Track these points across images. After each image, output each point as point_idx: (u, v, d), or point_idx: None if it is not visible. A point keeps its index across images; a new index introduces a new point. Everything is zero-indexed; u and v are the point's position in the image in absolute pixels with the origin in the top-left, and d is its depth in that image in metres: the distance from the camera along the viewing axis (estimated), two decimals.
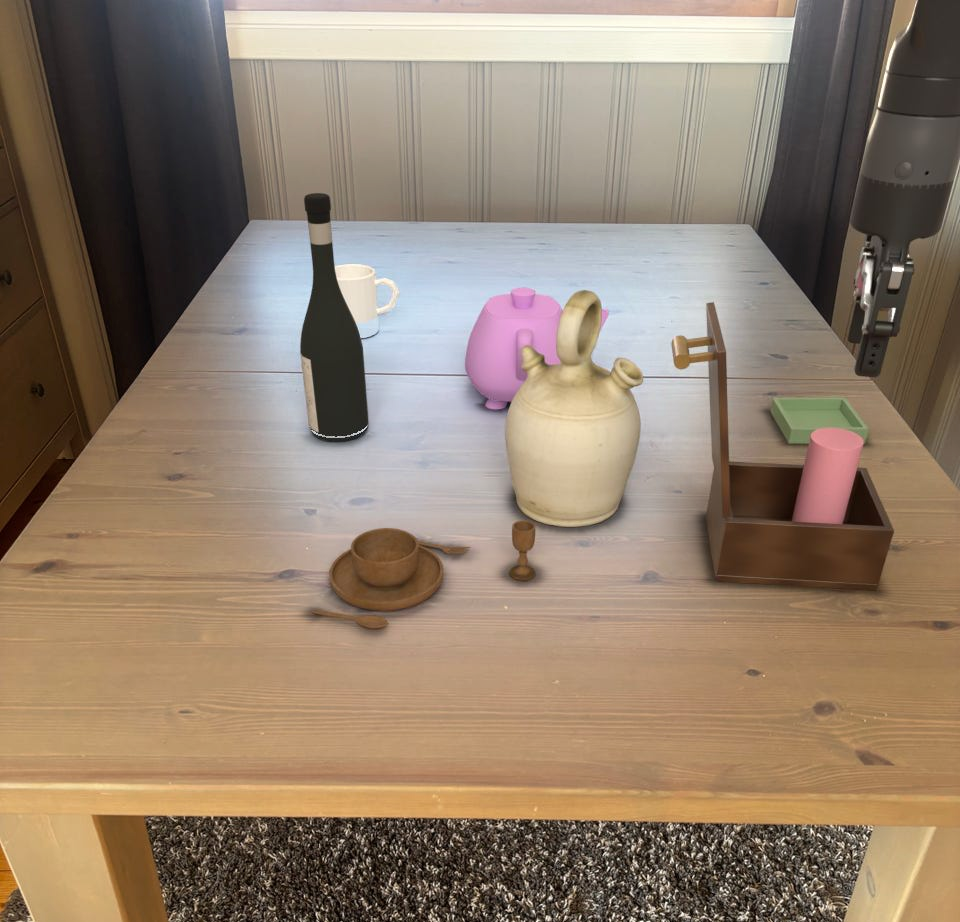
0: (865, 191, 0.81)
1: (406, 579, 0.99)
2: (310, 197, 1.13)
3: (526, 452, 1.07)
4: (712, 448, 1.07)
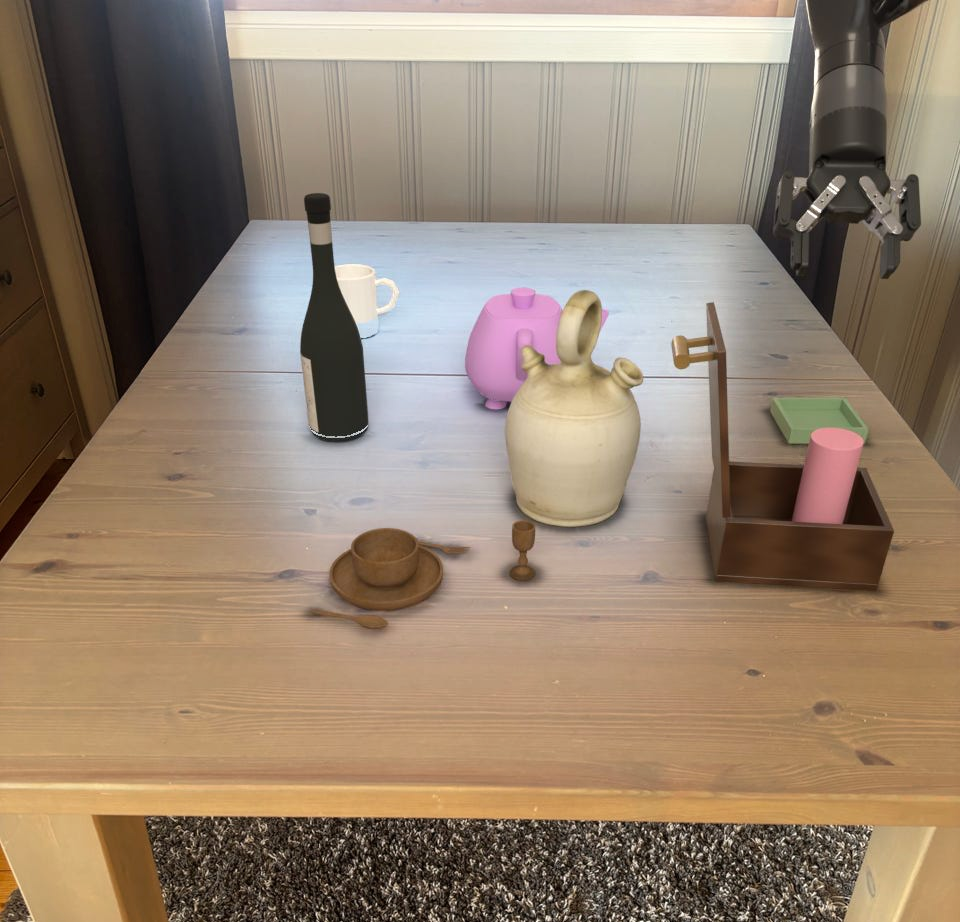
0: None
1: (406, 579, 0.99)
2: (310, 197, 1.13)
3: (526, 452, 1.07)
4: (712, 448, 1.07)
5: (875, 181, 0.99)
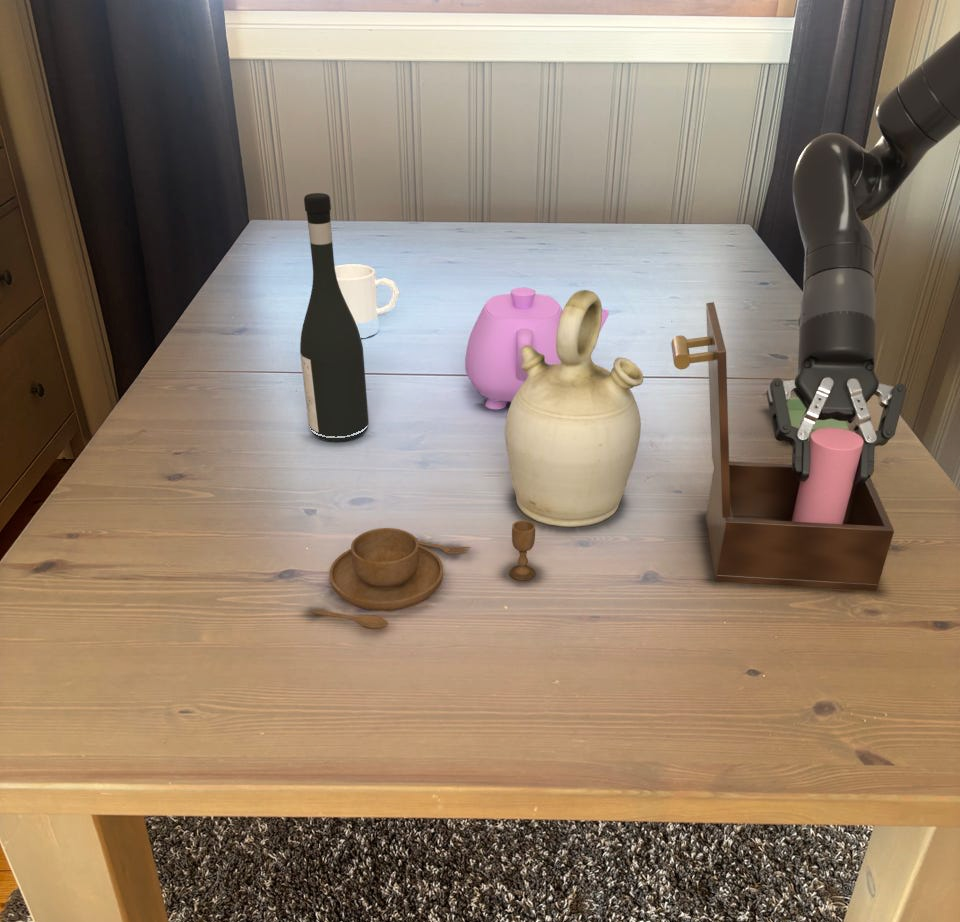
0: None
1: (406, 579, 0.99)
2: (310, 197, 1.13)
3: (526, 452, 1.07)
4: (712, 448, 1.07)
5: (863, 381, 1.00)
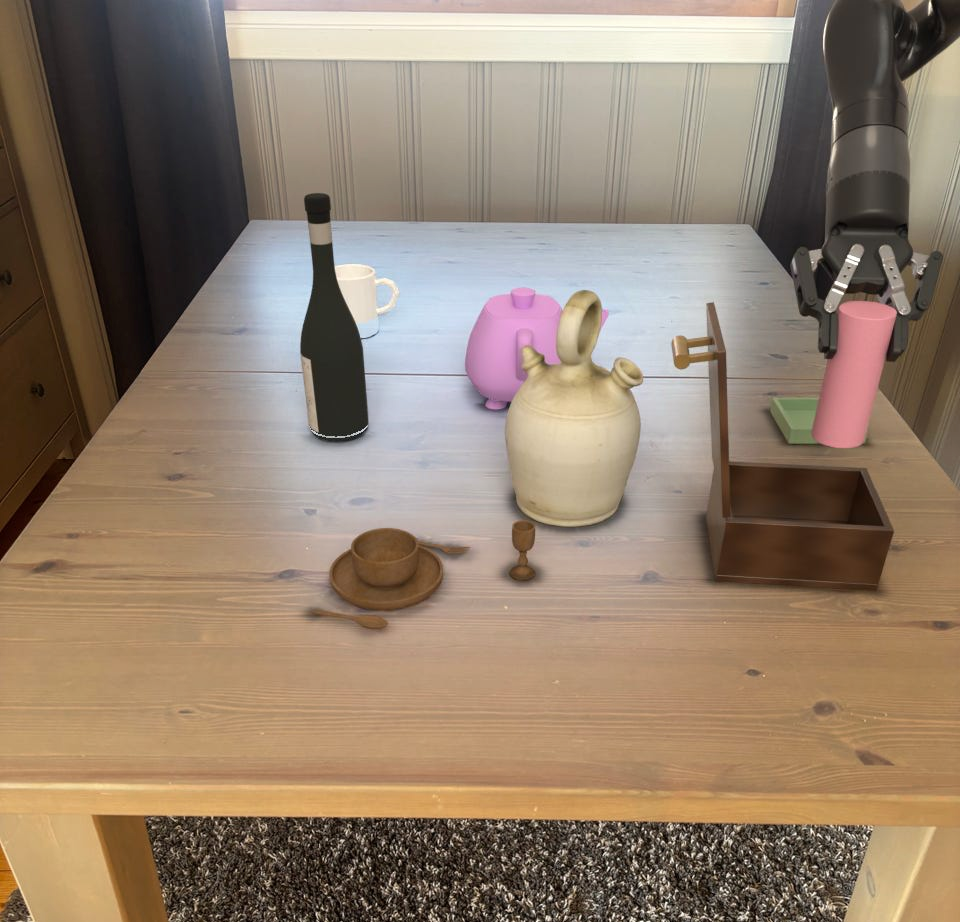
0: None
1: (406, 579, 0.99)
2: (310, 197, 1.13)
3: (526, 452, 1.07)
4: (712, 448, 1.07)
5: (896, 248, 0.92)
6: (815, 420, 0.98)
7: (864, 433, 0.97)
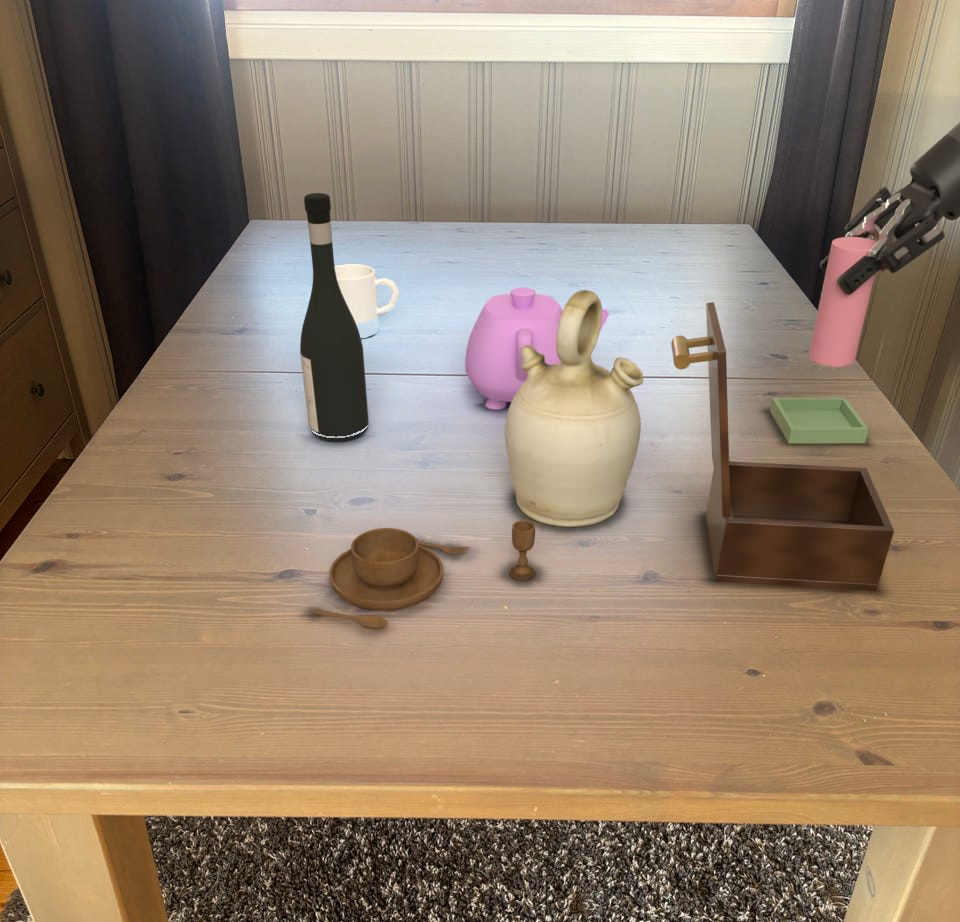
0: None
1: (406, 579, 0.99)
2: (310, 197, 1.13)
3: (526, 452, 1.07)
4: (712, 448, 1.07)
5: (920, 207, 1.02)
6: None
7: (827, 355, 1.12)
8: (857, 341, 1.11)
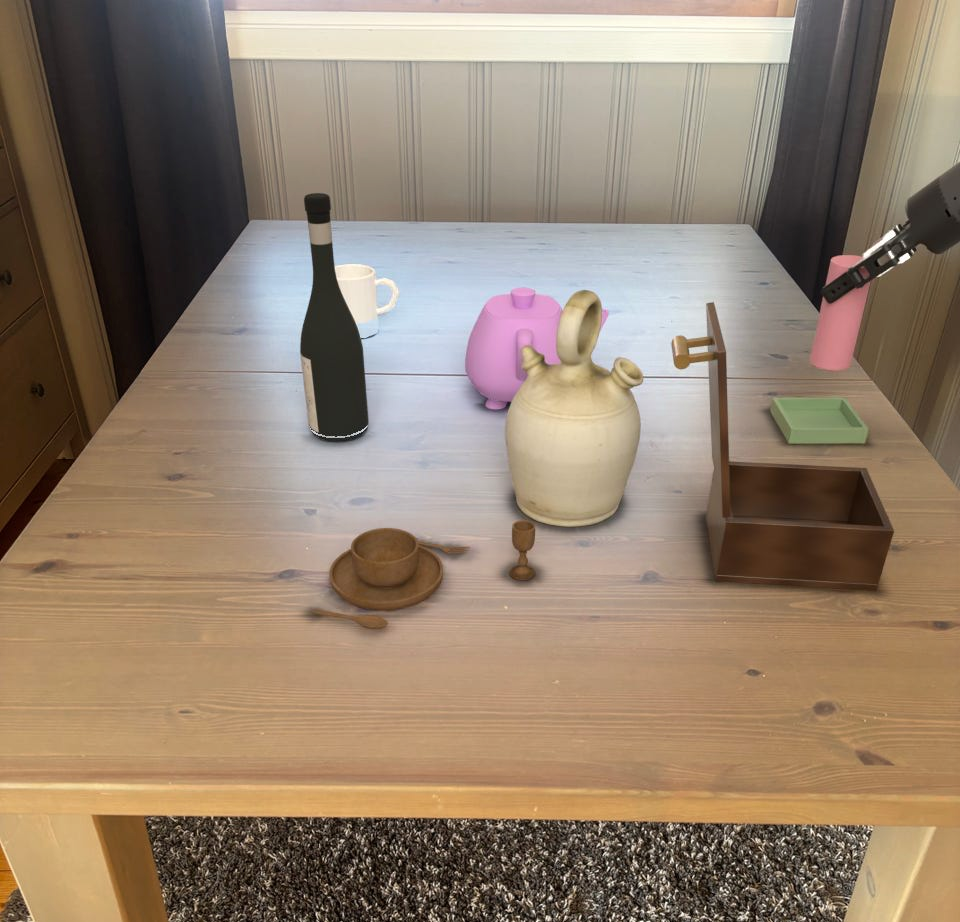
0: None
1: (406, 579, 0.99)
2: (310, 197, 1.13)
3: (526, 452, 1.07)
4: (712, 448, 1.07)
5: (897, 235, 1.13)
6: None
7: (816, 357, 1.26)
8: (844, 350, 1.24)
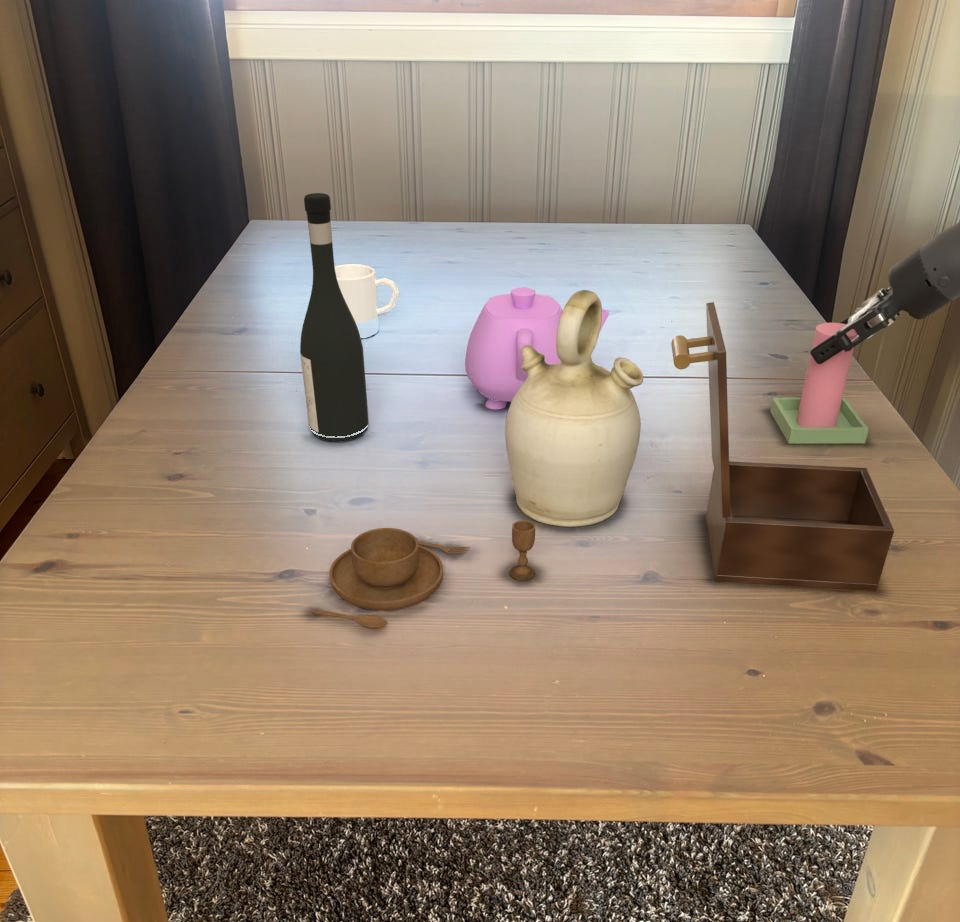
0: None
1: (406, 579, 0.99)
2: (310, 197, 1.13)
3: (526, 452, 1.07)
4: (712, 448, 1.07)
5: (879, 302, 1.18)
6: None
7: (802, 418, 1.31)
8: (829, 412, 1.29)
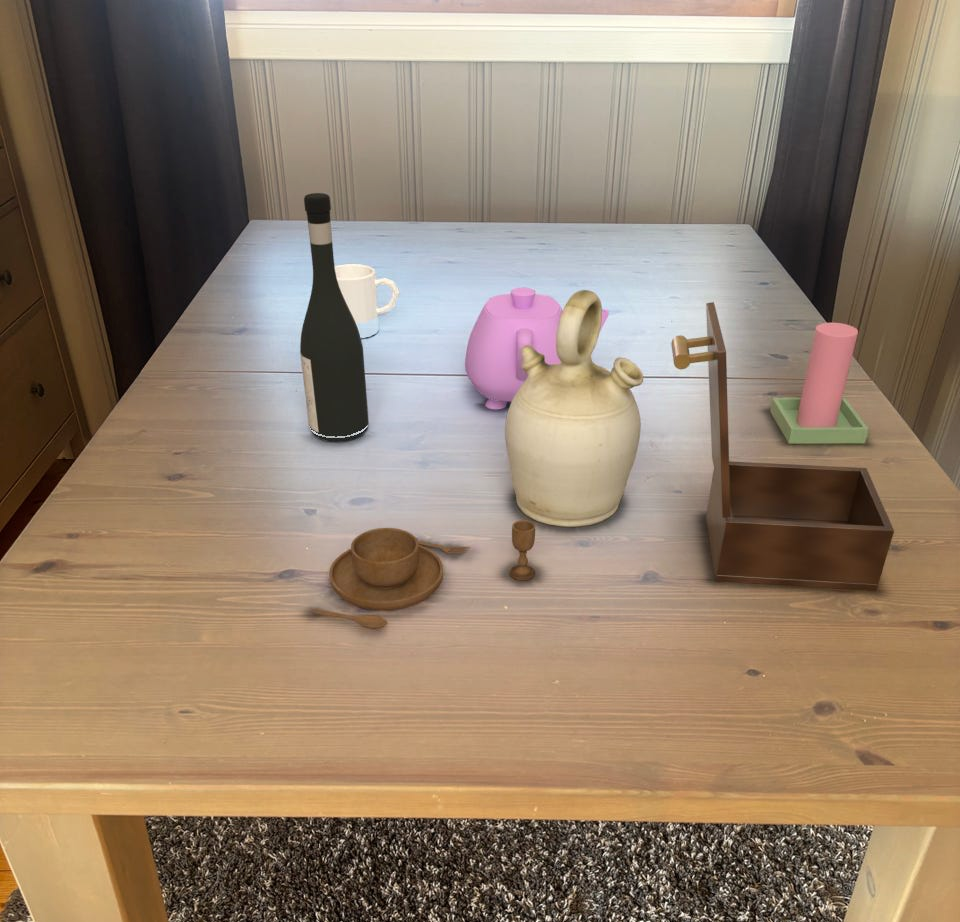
0: None
1: (406, 579, 0.99)
2: (310, 197, 1.13)
3: (526, 452, 1.07)
4: (712, 448, 1.07)
5: None
6: None
7: (802, 418, 1.31)
8: (829, 412, 1.29)
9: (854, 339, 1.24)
